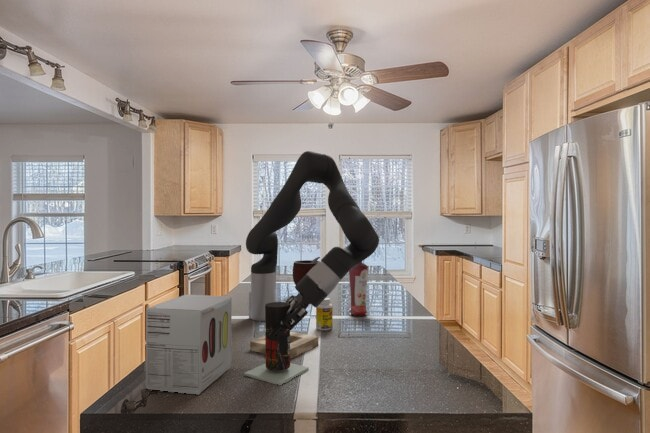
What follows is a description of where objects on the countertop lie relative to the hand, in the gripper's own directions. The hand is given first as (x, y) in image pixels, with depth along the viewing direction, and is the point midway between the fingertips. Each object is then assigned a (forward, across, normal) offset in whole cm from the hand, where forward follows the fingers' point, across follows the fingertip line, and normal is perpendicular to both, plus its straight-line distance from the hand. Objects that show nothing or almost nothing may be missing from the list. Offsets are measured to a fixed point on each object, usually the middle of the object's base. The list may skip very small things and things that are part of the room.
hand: (270, 334), depth 98 cm
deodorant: (+4, 0, +7) cm, 8 cm away
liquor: (-20, -51, +34) cm, 64 cm away
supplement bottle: (-8, -35, +22) cm, 42 cm away
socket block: (+3, -18, +11) cm, 21 cm away
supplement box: (+20, -1, -6) cm, 21 cm away
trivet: (+5, 0, +8) cm, 9 cm away
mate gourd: (-11, -88, +25) cm, 92 cm away
